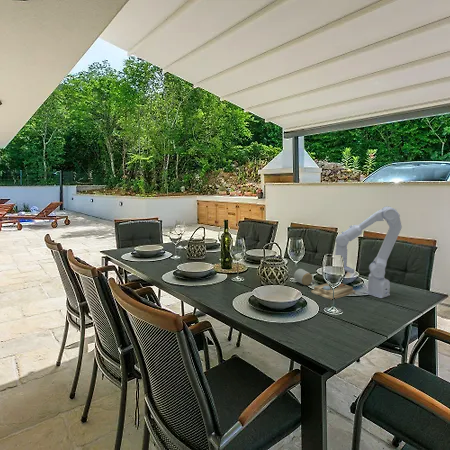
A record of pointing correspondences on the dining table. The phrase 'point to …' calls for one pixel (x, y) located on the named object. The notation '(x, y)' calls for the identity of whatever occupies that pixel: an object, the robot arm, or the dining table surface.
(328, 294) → the light wood flat board
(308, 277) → the grey canister
